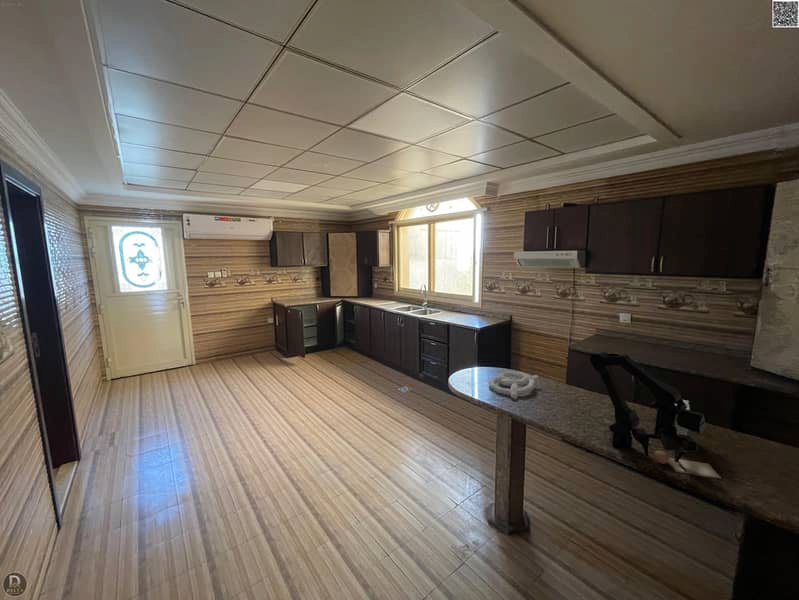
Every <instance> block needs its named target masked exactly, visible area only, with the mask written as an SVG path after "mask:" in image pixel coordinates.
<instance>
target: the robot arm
mask: <svg viewBox="0 0 799 600" xmlns="http://www.w3.org/2000/svg"><path fill="white" fill-rule="evenodd" d="M589 363H590V364H591V366H592V368H593V369H594V370H595V371H596V372H597V373H598V374H599V375H600V378H601V379H602V381H603V384H604V387H605V389H606V391H607V394H608V396H609V399H610V401H611V404H612V406H613V408H614V421H615V422H613V423H612V424H610V425H609V426H608V428H609V431H610V437H608V440H609V442H610V444H611V446H612V447H613V448H617V449H623V450H629V451H632V446H633V444H632V443H633V439H634V440H635V442H638V443H639V444H640V445H641V447H642V449H643V450H642V451H643V453H644V456H645V458H647V459H648V457H649V446H650V443H649V442H650V440H653V441H660V442H661V445H662V448H663V449H665V450H667V451H674V455H673V458H674V461H675V462H676V463H677V462H678V461H679V459H681V458H682V457H683V455H685V454H686V453H689V452H693V451H696V452H697V451H698V450H699V449H698V448H699V444H698V443H697V441H696V440H695V439H693V437H692V436H691V435H681V434H678V435H677V428H676V427H675V423H676V422H677V424H678V425H679V426H680V427H682V428H685V429H688V431H691V432H694V433H697V434H701V435H702V434H703V431H705V430H704V429H705V426H706V420H705V419H706V418H705V415H704V414H705V413H701V412H697V411H693V410H691V409H690V410H687V409H686V408H687V406H686V404H685V403H684V402H683V400H684V399H682V396H681V392H680V391H679V389H677V388H675V387H674V386H672V385H670V384H669V383H666V382H664V381H661V380H659V379H658V378H656V376H653V375H652V374H651V373H650V372H649V371H647V369H645V368H643V367H642V366H640V365H639V364H638V363H637V362H636V361H634V360H633V359H632V358H631V357H630V356H629V355H628V354H627V353H622V354H621V353H611V352H610V353H609V352H607V351H603V350H602V351H598V352H596V353H593V354H591V355H590V358H589ZM614 366H619V367H621V368H623V369H624V370H625V371H626V372H627V373H628V374H630V375H631V376H632V377H633V378H635V379H636V380H637V381H639V383H641V384H642V385H643V386H645V387H646V388H647V390H649V392H650V393H651V396H652V397H653V398H654V400H655V401H653V402H651V403H650V405H649V406H651V407H652V408H656V414H655V418H654V419H653V422H654V428H653V429H652V432H653V433H648V432H647V431H646V430H645V429H644V428H638V427H639V425H640V420H641V418H640V417H639V416H638V413H637V410H636V409H632V408H630V407H629V406H628V404H627V401H626V398H625V396H624V395H623V393H622V390H621V388H620V386H619V383H618V380H617V378H616V376H615V374H614ZM675 403H676V404H677V406H675ZM676 415H677V419H676Z"/></svg>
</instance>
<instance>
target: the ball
mask: <svg viewBox="0 0 799 600" xmlns="http://www.w3.org/2000/svg"><path fill="white" fill-rule="evenodd" d="M653 458H654V460H655V461H656V462H657V463H659V464H662V465H664V464H667V463H669V462H668V460H669V458H670V457H669V455H668V454H667V453H666V452H665V451H663V450H656V451H655V452H654V453H653Z"/></svg>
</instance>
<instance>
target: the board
mask: <svg viewBox="0 0 799 600" xmlns="http://www.w3.org/2000/svg"><path fill="white" fill-rule="evenodd" d="M667 463H669V464H670V466H671V467H672V469H673V470H674V471H675V472H677V473H682V474H687V475H692V474H693V475H692V476H698V475H699V476H700V477H704V478H710V477H711V478H710V479H717V480H722V477H721V476H720V475H719V474H718V473H717V472H716V470H715V469H713V467H712V466H711V465H710V464H709V463H706V462H699V461H693V460H688V459H687V460H686V459H681V458H680V459H679V461H678V462H677V463H676V462H675V461H674V457H669V460H668V462H667Z"/></svg>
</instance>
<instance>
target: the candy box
mask: <svg viewBox="0 0 799 600" xmlns="http://www.w3.org/2000/svg"><path fill="white" fill-rule="evenodd" d="M682 400H683V402H684V403H685V404H686V406H687V408H686V409H687V410H690V411H691V409H690V401H689V400H685V399H682ZM675 406H677V404H676V403H675ZM676 419H677V415H676ZM675 427H676V428H677V435H678V434H681V435H688V434H689V430H688V429H685V428H682V427H680V426H679V425H678V424H677V422H676V423H675ZM688 436H689V435H688Z"/></svg>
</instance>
